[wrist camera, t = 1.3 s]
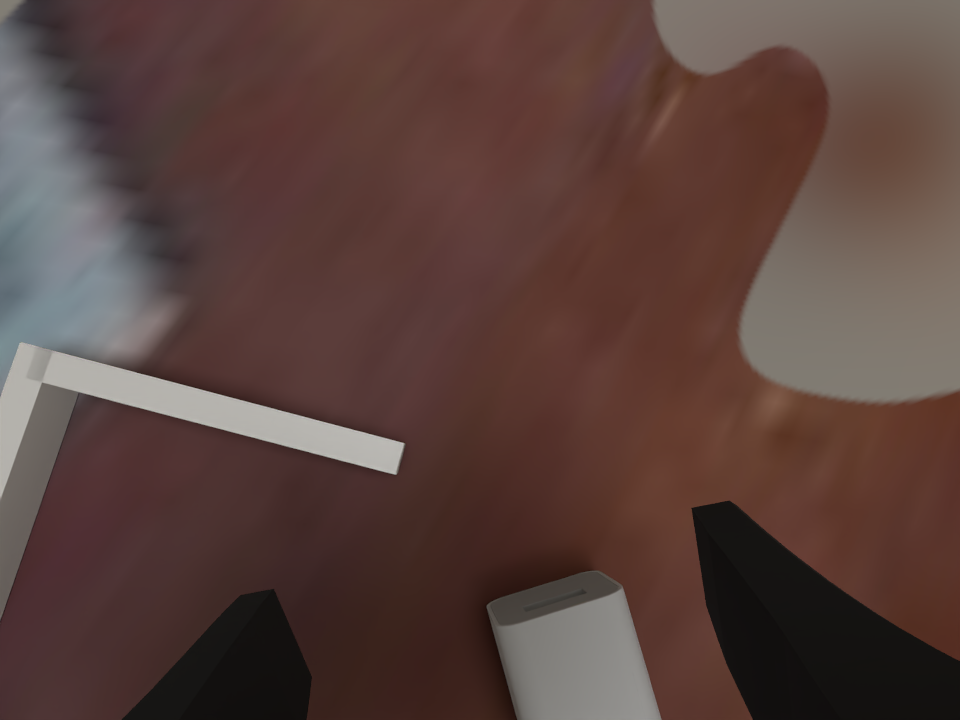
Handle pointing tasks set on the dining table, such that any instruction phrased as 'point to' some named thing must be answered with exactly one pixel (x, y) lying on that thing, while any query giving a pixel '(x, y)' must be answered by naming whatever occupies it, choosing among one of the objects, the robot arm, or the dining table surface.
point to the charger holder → (60, 377)
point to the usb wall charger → (572, 652)
